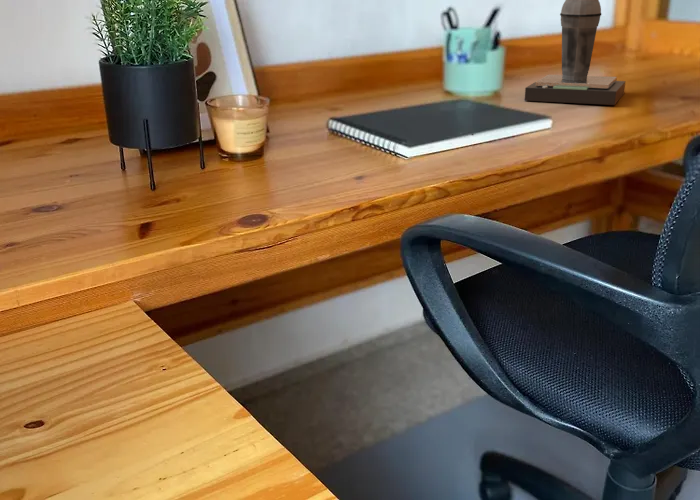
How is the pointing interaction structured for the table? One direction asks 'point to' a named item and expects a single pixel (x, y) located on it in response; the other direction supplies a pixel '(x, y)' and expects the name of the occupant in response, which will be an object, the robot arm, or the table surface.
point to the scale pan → (577, 82)
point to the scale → (575, 94)
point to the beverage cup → (578, 36)
